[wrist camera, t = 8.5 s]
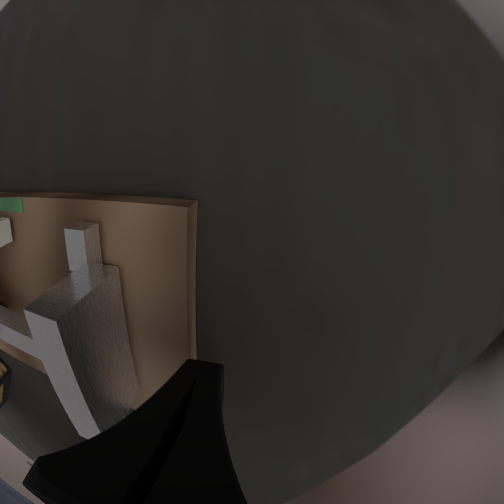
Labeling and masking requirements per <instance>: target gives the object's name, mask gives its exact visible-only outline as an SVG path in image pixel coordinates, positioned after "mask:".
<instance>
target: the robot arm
mask: <svg viewBox="0 0 504 504" xmlns="http://www.w3.org/2000/svg"><path fill="white" fill-rule="evenodd" d="M223 390H224V366H223V365H222V364H218V363H212V362H206V361H200V360H195V359H190V358H189V359H187V360H186V361H185V362H184V363H183V364H182V365H181V367H180V368H179V369H178V370H177V371H176V372H175V373H174V374H173V375H172V376H171V378H170V379H169V380H168V381H167V382H166V383H165V384H164V385H163V386H162V387H161V388H160V389H158V390H157V391H156V392H155V393H154V394H153V395H152V396H151V397H150V398H149V399H148V400H146V401H145V402H144V403H143V404H142V405H141V406H139V407H138V408H137V409H136V410H134V411H133V412H132V413H130V414H129V415H128V416H126V417H125V418H124V419H122V420H121V421H119V422H118V423H116V424H115V425H113V426H111V427H110V428H108V429H106V430H105V431H103V432H101V433H99V434H98V435H96V436H94V437H92V438H90V439H88V440H85V441H83V442H81V443H79V444H76V445H74V446H72V447H69V448H66V449H64V450H61V451H57V452H54V453H51V454H47V455H44V456H40V457H38V459H37V460H36V461H35V462H34V464H33V465H32V467H31V469H30V470H29V472H28V474H27V475H26V477H25V479H24V481H23V482H22V483H23V485H24V486H25V487H26V488H27V489H28V490H29V491H30V492H32V493H33V494H34V495H35V496H36V497H38V498H39V499H40V500H41V501H43V502H44V503H45V504H247V502H246V499H245V497H244V495H243V492H242V490H241V487H240V484H239V482H238V479H237V476H236V473H235V470H234V467H233V464H232V461H231V457H230V453H229V450H228V445H227V441H226V436H225V431H224V425H223V418H222V403H223ZM0 504H34V503H33V502H31V501H30V500H28V499H27V498H26V497H24V496H23V495H21V494H20V493H19V492H17V491H16V490H15V489H14V488H12V487H11V486H10V485H8V484H7V483H6V482H5V481H3V480H2V479H1V478H0Z"/></svg>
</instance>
